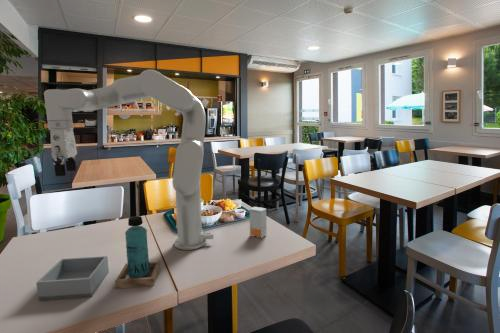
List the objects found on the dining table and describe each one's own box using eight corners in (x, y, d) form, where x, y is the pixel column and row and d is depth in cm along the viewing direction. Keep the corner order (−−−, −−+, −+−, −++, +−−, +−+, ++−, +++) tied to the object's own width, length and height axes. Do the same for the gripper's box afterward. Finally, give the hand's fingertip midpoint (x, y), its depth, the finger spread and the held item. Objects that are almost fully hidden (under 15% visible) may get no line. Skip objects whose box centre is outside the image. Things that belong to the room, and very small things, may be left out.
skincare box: (249, 236, 127) (249, 208, 125) (254, 232, 131) (254, 206, 129) (261, 238, 124) (261, 211, 122) (266, 235, 127) (266, 208, 125)
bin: (108, 271, 99) (107, 256, 98) (91, 297, 85) (89, 278, 84) (63, 274, 97) (61, 258, 96) (38, 301, 84) (36, 282, 83)
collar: (160, 267, 101) (160, 261, 101) (153, 285, 90) (153, 278, 90) (126, 270, 100) (126, 263, 100) (115, 288, 89) (115, 281, 89)
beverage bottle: (131, 272, 98) (126, 214, 95) (152, 271, 99) (148, 213, 95) (125, 283, 92) (119, 221, 88) (147, 282, 92) (143, 220, 89)
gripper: (62, 126, 98) (68, 177, 101) (81, 124, 115) (85, 168, 118) (36, 126, 97) (43, 178, 100) (59, 125, 114) (64, 169, 116)
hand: (66, 173), depth 109 cm, fingers open, 9 cm apart
